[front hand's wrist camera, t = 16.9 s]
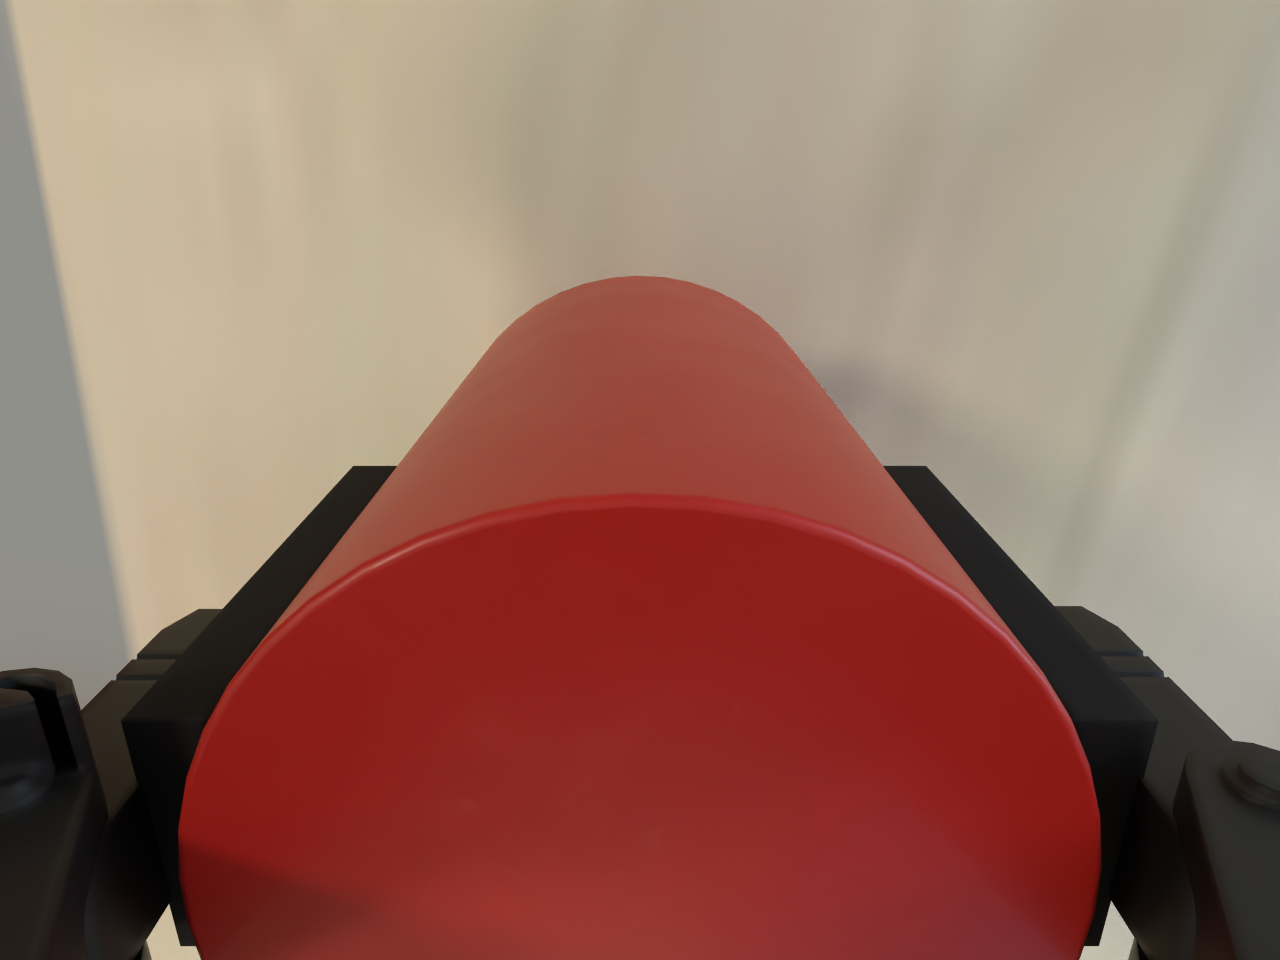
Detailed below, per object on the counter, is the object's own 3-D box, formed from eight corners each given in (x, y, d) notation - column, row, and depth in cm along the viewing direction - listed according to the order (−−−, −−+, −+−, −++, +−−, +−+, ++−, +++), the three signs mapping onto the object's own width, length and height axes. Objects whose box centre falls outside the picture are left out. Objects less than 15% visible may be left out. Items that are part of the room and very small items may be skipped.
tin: (396, 338, 16) (-16, 648, 6) (781, 225, 16) (1054, 364, 5) (523, 661, 19) (386, 1260, 9) (858, 579, 18) (1140, 1127, 8)
